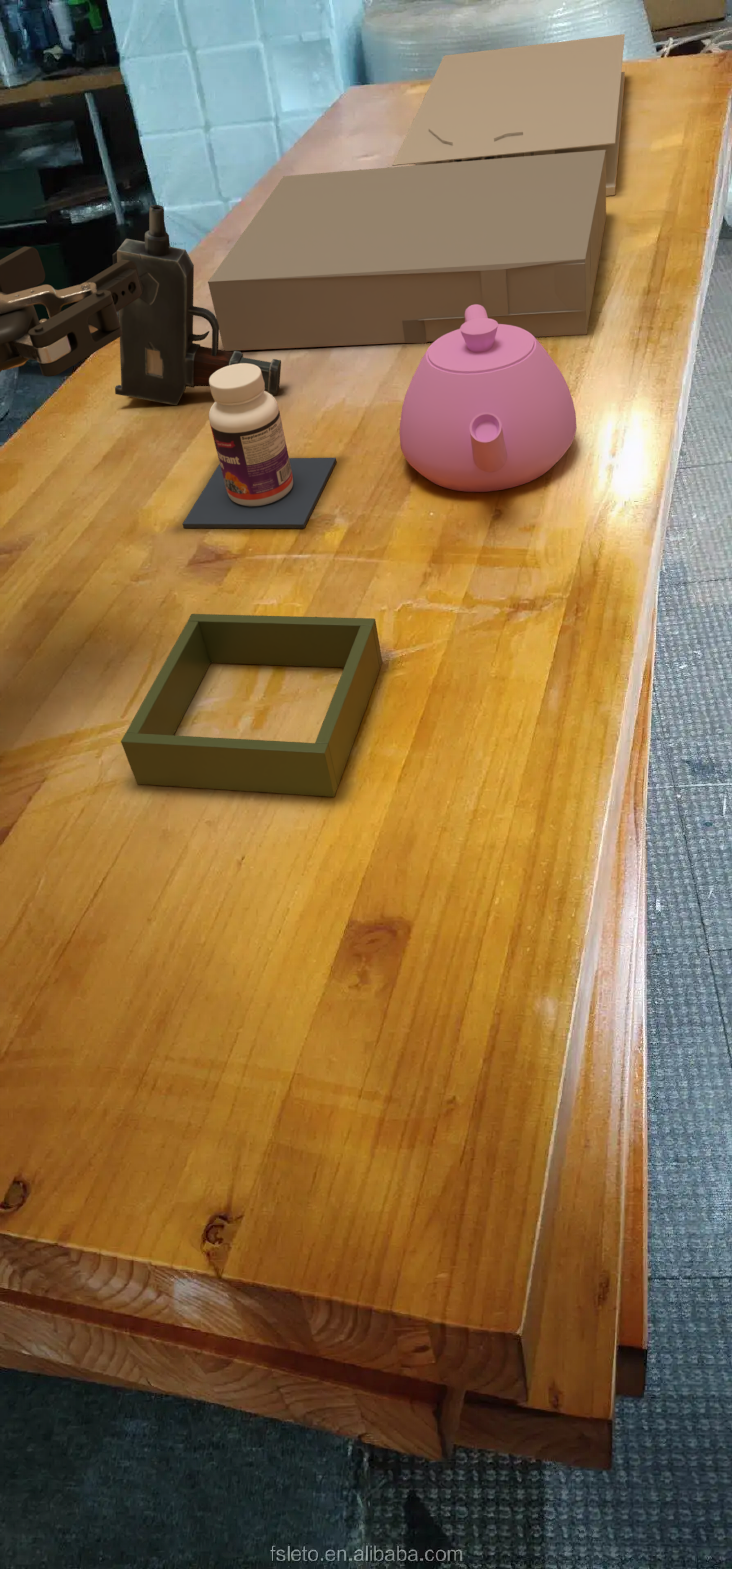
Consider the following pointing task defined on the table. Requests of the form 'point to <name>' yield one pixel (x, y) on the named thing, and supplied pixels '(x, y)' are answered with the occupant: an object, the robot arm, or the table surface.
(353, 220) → the box
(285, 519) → the mat
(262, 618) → the square frame
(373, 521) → the table surface
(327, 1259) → the table surface
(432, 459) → the teapot
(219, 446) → the pill bottle
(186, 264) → the gun
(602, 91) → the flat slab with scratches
